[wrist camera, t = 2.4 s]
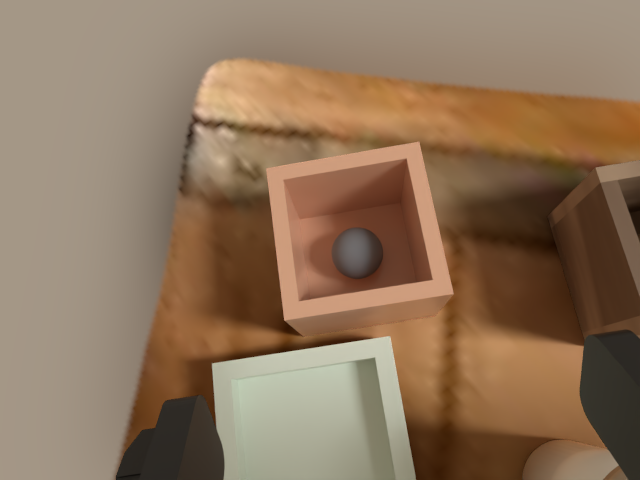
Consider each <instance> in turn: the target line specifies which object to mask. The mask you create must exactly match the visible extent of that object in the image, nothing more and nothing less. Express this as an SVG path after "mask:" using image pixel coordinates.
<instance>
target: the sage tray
mask: <svg viewBox="0 0 640 480" xmlns="http://www.w3.org/2000/svg"><path fill="white" fill-rule="evenodd" d="M212 372H213V386H214V400H215V414H216V428H217V432H218V435H219V437H220V440H221V443H222V447H223V452H224V463H225V469H224V479H223V480H416V476H415V470H414V465H413V459H412V454H411V448H410V443H409V437H408V432H407V426H406V421H405V416H404V410H403V405H402V399H401V394H400V388H399V383H398V377H397V372H396V366H395V361H394V355H393V350H392V344H391V339H390V336H387V337H381V338H374V339H368V340H361V341H355V342H348V343H342V344H335V345H329V346H322V347H316V348H309V349H303V350H296V351H290V352H283V353H277V354H270V355H264V356H257V357H251V358H244V359H238V360H231V361H225V362H218V363H212Z"/></svg>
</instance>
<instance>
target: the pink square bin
mask: <svg viewBox="0 0 640 480" xmlns="http://www.w3.org/2000/svg"><path fill="white" fill-rule="evenodd" d="M266 170H267V179H268V187H269V196H270V204H271V212H272V221H273V229H274V238H275V246H276V255H277V263H278V272H279V280H280V288H281V297H282V305H283V314H284V321H285V322H287V323H288V324H289V325H290V326H291V327H293V328H294V329H295V330H296V331H297V332H299V333H300V334H301V335H302V336H303V337H305V336H311V335H318V334H324V333H331V332H337V331H344V330H350V329H357V328H363V327H369V326H376V325H382V324H389V323H395V322H402V321H408V320H415V319H421V318H428V317H434V316H436V315H437V314H438V312H439V311H440V310H441V309H442V308H443V306H444V305H445V304H446V303H447V301H448V300H449V299H450V298H451V296H452V295H453V294H454V293H453V289H452V284H451V280H450V276H449V271H448V267H447V262H446V258H445V254H444V249H443V245H442V240H441V236H440V232H439V227H438V223H437V218H436V214H435V210H434V205H433V201H432V196H431V192H430V188H429V183H428V179H427V174H426V170H425V166H424V161H423V157H422V152H421V148H420V144H419V142H415V143H409V144H403V145H398V146H392V147H386V148H380V149H375V150H369V151H363V152H357V153H352V154H346V155H340V156H334V157H329V158H323V159H317V160H312V161H306V162H300V163H294V164H289V165H283V166H277V167H271V168H266ZM355 227H360V228H365V229H367V230H370V231H371V232H373V233H374V234H375V235H376V236H377V237H378V239H379V240H380V242H381V244H382V248H383V259H382V262H381V264H380V266H379V268H378V269H377V270H376V271H375V272H374V273H373V274H372V275H370V276H368V277H366V278H362V279H353V278H349V277H347V276H345V275H343V274H342V273H340V272H339V271H338V270H337V268H336V267H335V265H334V263H333V260H332V254H331V253H332V246H333V243H334V241H335V239H336V238H337V237H338V235H339V234H341V233H342V232H343V231H345V230H347V229H350V228H355Z"/></svg>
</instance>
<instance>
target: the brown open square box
mask: <svg viewBox="0 0 640 480" xmlns="http://www.w3.org/2000/svg"><path fill="white" fill-rule="evenodd" d="M547 217H548V221H549V224H550V227H551V231H552V234H553V237H554V241H555V244H556V247H557V250H558V254H559V257H560V260H561V264H562V267H563V270H564V274H565V277H566V280H567V284H568V287H569V290H570V294H571V297H572V300H573V304H574V307H575V310H576V314H577V317H578V320H579V324H580V327H581V330H582V334H583V337H584V340H585V339H586V337H587V336H588V335H593V334H599V333H605V332H612V331H618V330H624V329H627V330H630V331H632V332H633V333H634V334H636V335H637V336H638V337H639V338H640V242H639V239H638V236H637V235H639V234H640V160H638V161H632V162H626V163H620V164H614V165H608V166H602V167H596V168H595V169H594V170H593V171H592V172H591V173H590V174H589V175H588V176H587V177H586V178H585V179H584V180H583V181H582V182H581V183H580V184H579V185H578V186H577V187H576V188H575V189H574V190H573V191H572V192H571V193H570V194H569V195H568V196H567V197H566V198H565V199H564V200H563V201H562V202H561V203H560V204H559V205H558V206H557V207H556V208H555V209H554V210H553V211H552V212H551V213H550V214H549V215H548V216H547Z"/></svg>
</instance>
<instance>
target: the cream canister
mask: <svg viewBox="0 0 640 480" xmlns="http://www.w3.org/2000/svg"><path fill="white" fill-rule="evenodd" d="M522 480H628V478H627V477H626V475H625V474H624V472H623V471H622V469H621V468H620V466H619V465H618V464H617V462H616V461H615V459H614V458H613V456H612V455H611V453H610V452H609V450H608V449H606V448H602V447H597V446H593V445H589V444H585V443H580V442H576V441H571V440H563V439H561V440H553V441H549V442H546V443H544V444H542V445H540V446H539V447H538V448H536V449H535V450H534V451H533V452H532V453H531V455H530V456H529V458H528V459H527V461H526V463H525V466H524V469H523V474H522Z"/></svg>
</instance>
